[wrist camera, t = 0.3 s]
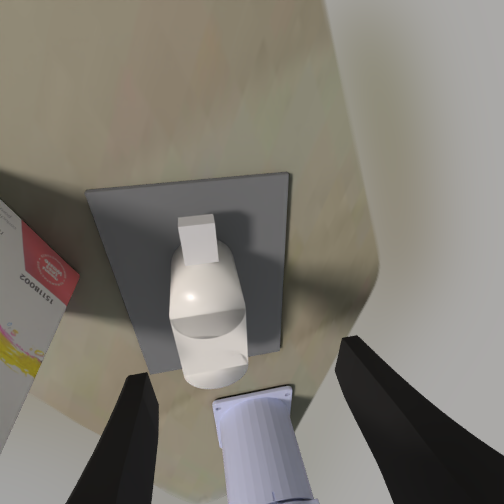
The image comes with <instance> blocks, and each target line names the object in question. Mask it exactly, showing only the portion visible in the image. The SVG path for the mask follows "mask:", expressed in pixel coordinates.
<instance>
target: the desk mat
mask: <svg viewBox="0 0 504 504" xmlns="http://www.w3.org/2000/svg"><path fill="white" fill-rule="evenodd" d="M288 179H289V174H288V173H287V172H278V173H267V174H256V175H245V176H234V177H223V178H212V179H201V180H190V181H179V182H168V183H157V184H146V185H135V186H124V187H113V188H102V189H91V190H86V191H85V196H86V198H87V201H88V204H89V207H90V209H91V212H92V215H93V218H94V220H95V223H96V226H97V229H98V232H99V234H100V237H101V240H102V243H103V245H104V248H105V251H106V254H107V256H108V259H109V262H110V265H111V267H112V270H113V273H114V276H115V278H116V281H117V284H118V287H119V290H120V292H121V295H122V298H123V301H124V303H125V306H126V309H127V312H128V314H129V317H130V320H131V323H132V325H133V328H134V331H135V334H136V336H137V339H138V342H139V345H140V348H141V350H142V353H143V356H144V359H145V361H146V364H147V367H148V370H149V372H150V375H151V374H156V373H162V372H167V371H173V370H178V369H182V366H181V362H180V358H179V354H178V350H177V346H176V342H175V338H174V334H173V330H172V326H171V322H170V318H169V310H170V284H171V261H172V257H173V254H174V252H175V251H176V249H177V248H178V247H179V246H180V245H181V241H180V236H179V230H178V218H179V217H188V216H197V215H207V214H213V216H214V222H215V230H216V239H217V240H219V241H221V242H223V243H224V244H225V245H227V246H228V247H229V249H230V250H231V252H232V255H233V258H234V262H235V266H236V270H237V274H238V278H239V282H240V286H241V290H242V294H243V298H244V302H245V307H246V327H247V349H248V357H250V356H255V355H261V354H266V353H272V352H277V351H280V335H281V315H282V296H283V277H284V257H285V238H286V218H287V199H288Z"/></svg>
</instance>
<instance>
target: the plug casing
mask: <svg viewBox="0 0 504 504" xmlns="http://www.w3.org/2000/svg"><path fill="white" fill-rule="evenodd" d="M178 230H179V236H180V241H181V245H180V246H179V247H178V248H177V249H176V251H175V252H174V254H173V257H172V261H171V284H170V310H169V318H170V322H171V326H172V330H173V334H174V338H175V342H176V346H177V350H178V354H179V358H180V362H181V366H182V370H183V373H184V377H185V379H186V381H187V382H188V383H189V384H191V385H193V386H195V387H198V388H202V389H217V388H222V387H225V386H228V385H231V384H233V383H235V382H236V381H238V380H239V379H240V378H242V377H243V375H244V374H245V373H246V371H247V369H248V349H247V327H246V307H245V302H244V298H243V294H242V290H241V286H240V282H239V278H238V274H237V270H236V266H235V262H234V258H233V255H232V252H231V250H230V249H229V247H228V246H227V245H225V244H224V243H223V242H221V241H219V240H217V239H216V230H215V222H214V216H213V214H207V215H197V216H188V217H179V218H178Z"/></svg>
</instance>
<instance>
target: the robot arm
mask: <svg viewBox="0 0 504 504" xmlns="http://www.w3.org/2000/svg"><path fill="white" fill-rule="evenodd" d="M335 373H336V376H337V379H338V381H339V384H340V387H341V390H342V392H343V395H344V397H345V399H346V401H347V403H348V406H349V408H350V409H351V412H352V413H353V416H354V418H355V420H356V422H357V424H358V426H359V428H360V430H361V432H362V434H363V436H364V438H365V440H366V442H367V443H368V446H369V448H370V449H371V452H372V453H373V456H374V458H375V459H376V462H377V464H378V466H379V468H380V471H381V473H382V475H383V478H384V480H385V483H386V485H387V488H388V490H389V493H390V495H391V498H392V500H393V503H394V504H504V456H503V455H502V454H500V453H499V452H497V451H496V450H494V449H493V448H491V447H490V446H488V445H487V444H485V443H484V442H482V441H481V440H480V439H478V438H477V437H475V436H474V435H473V434H471V433H470V432H468V431H467V430H466V429H464V428H463V427H462V426H460V425H459V424H458V423H456V422H455V421H454V420H452V419H451V418H450V417H448V416H447V415H446V414H445V413H443V412H442V411H441V410H439V409H438V408H437V407H436V406H435V405H433V404H432V403H431V402H430V401H429V400H427V399H426V398H425V397H424V396H422V395H421V394H420V393H419V392H418V391H417V390H415V389H414V388H413V387H412V386H411V385H409V383H408V382H406V381H405V380H404V379H403V378H402V377H401V376H400V375H399V374H397V373H396V372H395V371H394V370H393V369H392V368H391V367H390V366H389V365H388V364H387V363H386V362H385V361H383V360H382V359H381V358H380V357H379V356H378V355H377V354H376V353H375V352H374V351H373V350H372V349H371V348H370V347H369V346H367V344H366V343H365V342H364V341H363V340H362V339H361V338H360V337H358V336H357V335H356V336H350V337H345V338H342V341H341V345H340V349H339V354H338V358H337V363H336V367H335ZM291 400H292V388H291V386H284V387H279V388H274V389H269V390H264V391H259V392H254V393H249V394H244V395H239V396H234V397H229V398H224V399H219V400H215V401H214V402H213V403H212V405H213V411H214V417H215V423H216V428H217V434H218V439H219V445H220V448H222V450H223V460H224V469H225V479H226V488H227V497H228V504H319V501H318V499H314V497H313V494H312V490H311V487H310V484H309V480H308V477H307V474H306V470H305V467H304V463H303V460H302V457H301V453H300V450H299V447H298V443H297V440H296V437H295V433H294V430H293V426H292V423H291V419H290V410H291ZM158 427H159V404H158V401H157V399H156V396H155V393H154V390H153V387H152V384H151V382H150V379H149V376H148V373H147V372H146V373H140V374H135V375H129V376H128V377H127V378H126V380H125V383H124V386H123V388H122V391H121V393H120V396H119V398H118V401H117V403H116V405H115V408H114V410H113V412H112V414H111V416H110V419H109V421H108V423H107V425H106V427H105V429H104V431H103V434H102V436H101V438H100V440H99V442H98V444H97V446H96V448H95V450H94V452H93V454H92V456H91V458H90V460H89V462H88V463H87V465H86V467H85V469H84V471H83V473H82V475H81V477H80V479H79V480H78V482H77V484H76V486H75V488H74V490H73V491H72V493H71V495H70V497H69V498H68V500H67V502H66V504H151V500H152V491H153V482H154V473H155V464H156V454H157V445H158Z"/></svg>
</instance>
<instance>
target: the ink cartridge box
mask: <svg viewBox="0 0 504 504" xmlns="http://www.w3.org/2000/svg"><path fill="white" fill-rule="evenodd" d="M79 278H80V275H79V273H77V272H76V271H75V270H74V269H73V268H71V267H70V266H69V265H68V264H67V263H66V262H65V261H64V260H63V259H62V258H61V257H60V256H59V255H58V254H57V253H56V252H55V251H54V250H52V249H51V248H50V247H49V246H48V245H47V244H46V243H45V242H44V241H43V240H42V239H41V238H40V237H39V236H38V235H37V234H36V233H35V232H34V231H33V230H32V229H31V228H30V227H29V226H28V225H27V224H26V223H25V222H24V221H23V220H22V219H20V218H19V217H18V216H17V215H16V214H15V213H14V212H13V211H12V210H11V209H10V208H9V207H8V206H7V205H6V204H5V203H4V202H3V201H2V200H1V199H0V454H1V452H2V450H3V447H4V445H5V443H6V440H7V439H8V436H9V434H10V432H11V430H12V428H13V425H14V423H15V421H16V419H17V417H18V414H19V412H20V410H21V408H22V405H23V403H24V401H25V399H26V397H27V394H28V392H29V390H30V388H31V386H32V384H33V381H34V379H35V376H36V374H37V372H38V370H39V368H40V365H41V363H42V361H43V359H44V356H45V354H46V352H47V350H48V348H49V346H50V343H51V341H52V339H53V337H54V334H55V332H56V330H57V328H58V325H59V323H60V321H61V318H62V316H63V314H64V312H65V310H66V307H67V305H68V303H69V300H70V298H71V296H72V294H73V291H74V289H75V287H76V285H77V282H78V280H79Z"/></svg>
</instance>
